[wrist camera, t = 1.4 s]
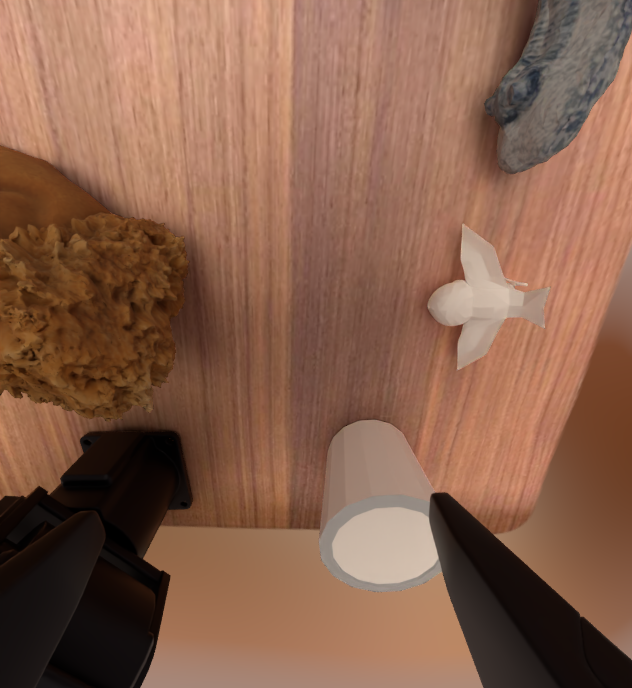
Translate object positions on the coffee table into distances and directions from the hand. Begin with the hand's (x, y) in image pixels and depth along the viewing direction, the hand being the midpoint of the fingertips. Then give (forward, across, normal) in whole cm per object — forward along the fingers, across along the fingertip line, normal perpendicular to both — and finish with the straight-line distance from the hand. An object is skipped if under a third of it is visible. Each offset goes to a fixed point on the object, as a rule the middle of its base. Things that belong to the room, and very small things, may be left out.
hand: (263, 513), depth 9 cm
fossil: (+12, -11, -12) cm, 21 cm away
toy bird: (+12, -10, -3) cm, 16 cm away
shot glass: (+12, -4, +8) cm, 15 cm away
